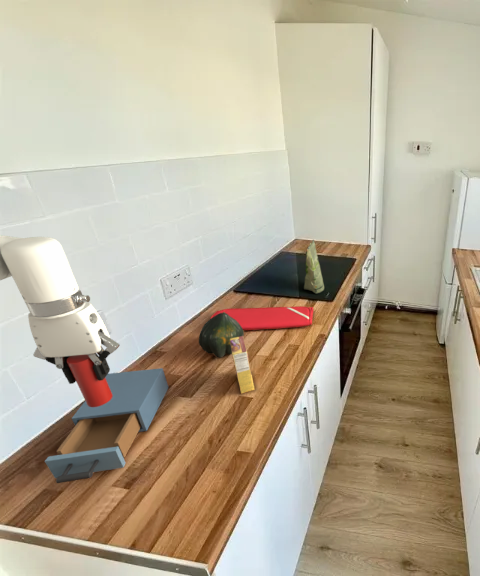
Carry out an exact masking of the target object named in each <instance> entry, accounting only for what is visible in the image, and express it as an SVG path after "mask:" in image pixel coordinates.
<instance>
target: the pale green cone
mask: <svg viewBox="0 0 480 576" xmlns="http://www.w3.org/2000/svg"><path fill="white" fill-rule="evenodd" d="M304 271H305V276H304V285H303V290H307V291H311V292H313V293H314V294H320V293H322V292H323V291H325V284H324V279H323V275H322V269H321V265H320V262H319V257H318V253H317V248H316V243H315V240H314V239H312V241H311V242H310V243H309V245H308V246H307V247H306V249H305V270H304Z"/></svg>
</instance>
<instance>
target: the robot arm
mask: <svg viewBox="0 0 480 576" xmlns="http://www.w3.org/2000/svg"><path fill="white" fill-rule="evenodd" d="M11 277H12V279H13V282H14V283H15V286H16V287H17V289H18V292H19V293H20V294H21V298H22V299H23V301H24V304H25V305H26V307H27V309H28V311H29V313H28V315H27V316H28V317H27V318H28V323H29V328H30V332H31V335H32V337H33V340H34V343H35V345H36V348H35V350H34V352H33V354H32V355H33V357H35V358H38V359H40V360H45V361H46V362H48V363H49V364H52V365H54V366H55V368H57V369H59V370H61V371H62V373H63V375H64V377H65V379H67V382H68V384H69V385H72V384H74V383H77V382H76V380H75V378H74V376H73V374H72V372H71V370H70V368H69V365H68V363H67V359H68V358H69V357H70V356H75V355H85V354H87V355H88V356H89V358H90V359H91V360H92V361H93V363H94V365H93V370H94V372H95V374H96V376H97V379H98V380H99V381H101V380H103V379H104V378H105V377H106V375H107V374H110V371H111V369H110V366H109V363H108V361H107V358H108V357H109V356H110V355H111V354H113V353H114V352H115V351H117V350H118V348H119V347H120V343H118V342H117V341H116V340H114V339H112V338H111V336H110V333H109V331H108V329H107V327H106V324H105V323H104V320H103V319H102V317H101V315H100V314H99V313H98V310H97V309H96V308H95V307H94V305H93V304H92V303H91V302H90V301H91V297H90V295H87V294H86V295H85V294H83V293H82V290H80V287H79V285H78V283H77V280H76V277H75V275H74V273H73V270H72V268H71V265H70V262H69V260H68V257H67V255H66V252H65V251H64V248H63V245H62V244H61V243H60V241H59V240H57V239H56V238H53V237H50V236H30V237H18V236H10V235H2V234H0V281H2V280H6V279H8V278H11ZM102 345H103V346H104V347H106V348H105V349H104V348H103V347H102Z"/></svg>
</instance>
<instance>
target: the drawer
mask: <svg viewBox="0 0 480 576" xmlns="http://www.w3.org/2000/svg"><path fill="white" fill-rule="evenodd" d="M140 427H141V423H140V421H139V418H138V415H137V413H129V414H121V415H113V416H105V417H97V418H89V419H81V420H79V422H78V423H77V424H76V426H75V425H74V427H73V428H72V429H71V431H70V432H69V434H68V435H67V436H66V438H64V440H63V442H62V443H61V445H60V446H59V447H58V448H57V449H56V453H57V454H56V455H50V456H48V457H47V458H46V459H45V460H44V463H45V464H46V466H47V468H48V469H49V471H50V473H51V474H52V476H53V477H54V479H55V483H56V484H63V483H68V482H69V483H70V482H75V481H82V480H87V479H91V478H92V477H93V476H94V473H97V472H104V471H110V470H111V471H112V470H118V469H122V468H125V465H126V460H125V457H126V456H127V455H128V453H129V450H130V448H131V446H132V445H133V444H134V443H133V442H134V441H135V439H136V437H137V435H138V433H139V432H138V431H139V429H140Z"/></svg>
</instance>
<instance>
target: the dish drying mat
mask: <svg viewBox="0 0 480 576" xmlns="http://www.w3.org/2000/svg"><path fill="white" fill-rule="evenodd" d="M223 312H225V313H226V314H228V315H229V316H230V317H232V318H234V319H235V320H236V321H237V322H238V323H239V324H240V326H241V327H242V329H243V331H258V330H259V331H260V330H274V329H275V330H276V329H288V328H300V327H308V326H312V325H313V315H314V307H312V306H303V305H302V306H301V305H300V306H299V305H297V306H272V307H270V306H269V307H243V308H242V307H241V308H239V307H238V308H234V307H232V308H230V307H229V308H225V309H220V310H216V311H215V312H214V313H213V314H212V315H211V317H210V318H209V320H210V319H211V318H212V317H214V316H216V315H217V314H219V313H223Z"/></svg>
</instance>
